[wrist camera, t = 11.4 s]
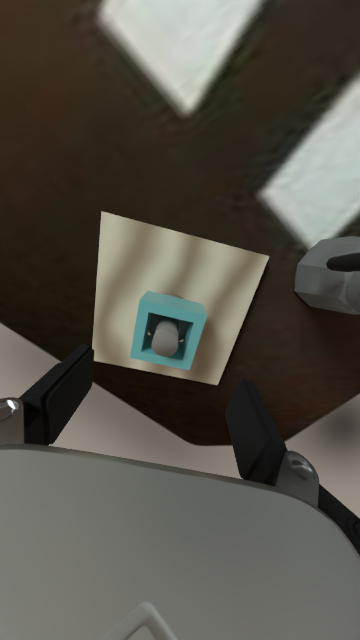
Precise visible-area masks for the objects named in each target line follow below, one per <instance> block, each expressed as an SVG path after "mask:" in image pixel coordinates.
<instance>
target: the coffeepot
mask: <svg viewBox="0 0 360 640" xmlns="http://www.w3.org/2000/svg"><path fill="white" fill-rule="evenodd" d="M294 284H295V289H294V291H295V292H296V293H297V294H298V295H299V296H300V298H301V299H303V300H304V301H305V302H306V303H307V304H308V305H309V306H310V307H315V308H321V309H326V310H332V311H337V312H343V313H348V314H360V237H354V236H349V237H341V238H332V239H324V240H321V241H319V242H318V243H317V244H316V245H315V246H314V247H313V248H312V249H310V250H309V251H308V252H307V253H306V254H305V256H304V257H303V258H302V260H301V261H300V262H299V263H298V264H297V268H296V273H295V277H294Z"/></svg>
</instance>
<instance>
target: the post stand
mask: <svg viewBox="0 0 360 640" xmlns="http://www.w3.org/2000/svg"><path fill="white" fill-rule="evenodd" d="M268 259H269V256H266V255H262V254H258V253H255V252H251V251H247V250H243V249H240V248H236V247H232V246H229V245H225V244H221V243H217V242H214V241H210V240H206V239H202V238H199V237H195V236H191V235H188V234H184V233H180V232H176V231H173V230H169V229H165V228H162V227H158V226H154V225H150V224H147V223H143V222H139V221H135V220H132V219H128V218H124V217H121V216H117V215H113V214H109V213H106V212H102V213H101V227H100V242H99V256H98V271H97V286H96V300H95V315H94V330H93V344H92V349H94V361H99V362H104V363H109V364H114V365H119V366H124V367H129V368H134V369H139V370H144V371H149V372H154V373H159V374H164V375H169V376H174V377H179V378H184V379H189V380H194V381H199V382H204V383H209V384H214V385H218V383H219V381H220V378H221V376H222V373H223V371H224V368H225V366H226V363H227V361H228V358H229V356H230V353H231V351H232V348H233V346H234V343H235V341H236V338H237V336H238V333H239V331H240V328H241V326H242V323H243V321H244V318H245V316H246V313H247V311H248V308H249V306H250V303H251V301H252V298H253V296H254V293H255V291H256V288H257V286H258V284H259V281H260V279H261V276H262V274H263V271H264V269H265V266H266V264H267V261H268ZM147 290H148V291H152V292H156V293H160V294H164V295H169V296H173V297H177V298H181V299H185V300H189V301H193V302H197V303H201V304H203V306H204V309H205V311H206V314H207V318H206V321H205V324H204V327H203V330H202V334H201V337H200V340H199V343H198V346H197V349H196V352H195V355H194V358H193V361H192V364H191V367H190V370H185V369H180V368H176V367H171V366H166V365H161V364H156V363H152V362H147V361H142V360H137V359H133V358H130V354H131V348H132V342H133V336H134V330H135V324H136V318H137V312H138V307H139V301H140V299H141V297H142V296H143V295H144V294H145V293H146V292H147ZM187 325H188V321H184V320H180V319H176V318H172V317H167V316H163V315H159V314H154V313H152V316H151V321H150V326H149V331H148V335H152V336H154V337H153V340H152V349H153V351H154V352H155V353H156V354H158V355H160V356H163V357H167V356H171V355H173V354H174V353H175V352H176V351H177V349H178V341H179V342H183V339H184V335H185V332H186V328H187Z"/></svg>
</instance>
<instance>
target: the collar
mask: <svg viewBox="0 0 360 640" xmlns="http://www.w3.org/2000/svg"><path fill="white" fill-rule="evenodd" d="M152 313H154V314H159V315H163V316H167V317H172V318H176V319H180V320H184V321H188V325H187V328H186V332H185V335H184V339H183V342H179V341H178V349H177V351H176V352H175V353H174V354H173V355H171V356H167V357H163V356H160V355H158V354H156V353H155V352H154V351H153V349H152V340H153V337H154V336H152V335H148V331H149V326H150V321H151V316H152ZM206 318H207V314H206V311H205V309H204V306H203V304H201V303H197V302H193V301H189V300H185V299H181V298H177V297H173V296H169V295H164V294H160V293H156V292H152V291H148V290H147V292H146V293H145V294H144V295H143V296H142V297H141V299H140V301H139V307H138V312H137V318H136V324H135V330H134V336H133V342H132V348H131V354H130V358H133V359H137V360H142V361H147V362H152V363H156V364H161V365H166V366H171V367H176V368H180V369H185V370H190V367H191V364H192V361H193V358H194V355H195V352H196V349H197V346H198V343H199V340H200V337H201V334H202V330H203V327H204V324H205V321H206Z"/></svg>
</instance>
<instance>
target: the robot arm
mask: <svg viewBox="0 0 360 640" xmlns="http://www.w3.org/2000/svg"><path fill="white" fill-rule="evenodd" d="M93 366H94V349H92V347H91V346H87V345H83V344H82V345H80V346H79V347H78V348H77V349H75V350H74V351H73V352H72V353H71V354H70V355H69V356H68V357H67V358H66V359H65V360H63V361H62V362H61V363H58V364H56V365H55V366H54V367H53V368H52V369H51V370H50V371H48V372H47V373H46V374H45V375H44V376H43V377H42V378H41V379H40V380H38V381H37V382H36V383H35V384H34V385H33V386H32V387H31V388H30V389H28V390H27V391H26V392H25V393H24V394H23V395H22V396H21V397H19V398H3V399H0V640H360V519H359V518H358V517H357V516H356V515H355V514H354V513H353V512H351V511H350V510H349V509H348V508H347V507H346V506H344V505H343V504H342V503H341V502H340V501H339V500H337V499H336V498H335V497H334V496H333V495H332V494H330V493H329V492H328V491H327V490H326V489H324V487H322V486H321V485H320V484H319V478H318V475H317V473H316V471H315V469H314V467H313V466H312V465H311V464H310V462H309V461H308V460H307V459H305V458H304V457H303V456H302V455H300V454H299V453H297V452H294V451H288V450H287V448H286V445H285V443H284V441H283V439H282V437H281V435H280V433H279V431H278V429H277V427H276V425H275V423H274V421H273V419H272V417H271V415H270V413H269V412H268V410H267V408H266V406H265V404H264V402H263V400H262V398H261V396H260V394H259V392H258V390H257V388H256V386H255V384H254V383H253V381H249V380H245V379H243V380H242V381H240V382H239V383H238V385H237V387H236V390H235V392H234V394H233V396H232V398H231V400H230V402H229V405H228V407H227V409H226V412H225V416H226V420H227V425H228V429H229V433H230V437H231V441H232V445H233V449H234V453H235V457H236V462H237V466H238V470H239V474H240V476H241V478H243V479H237V478H232V477H227V476H222V475H216V474H210V473H205V472H199V471H194V470H189V469H183V468H178V467H172V466H166V465H161V464H155V463H149V462H144V461H137V460H133V459H126V458H121V457H115V456H109V455H103V454H97V453H92V452H85V451H79V450H72V449H66V448H59V447H53V446H48V445H49V444H53V443H54V442H55V440H56V439H57V437H58V436H59V434H60V433H61V431H62V430H63V429H64V427H65V426H66V424H67V423H68V421H69V420H70V418H71V417H72V415H73V414H74V412H75V411H76V409H77V408H78V406H79V405H80V403H81V402H82V400H83V399H84V397H85V396H86V394H87V393H88V391H89V390H90V388H91V386H92V381H93Z"/></svg>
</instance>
